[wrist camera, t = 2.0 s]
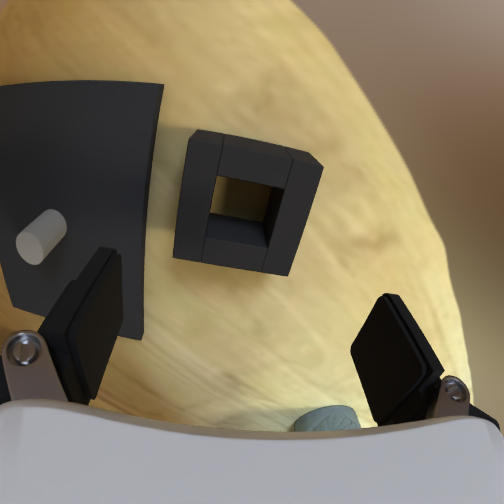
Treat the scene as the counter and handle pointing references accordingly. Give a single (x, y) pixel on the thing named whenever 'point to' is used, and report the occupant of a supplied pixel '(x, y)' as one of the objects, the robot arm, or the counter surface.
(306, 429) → the grey green embossed cup
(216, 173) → the black square frame
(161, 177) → the counter surface
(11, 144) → the base pad
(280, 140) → the counter surface
